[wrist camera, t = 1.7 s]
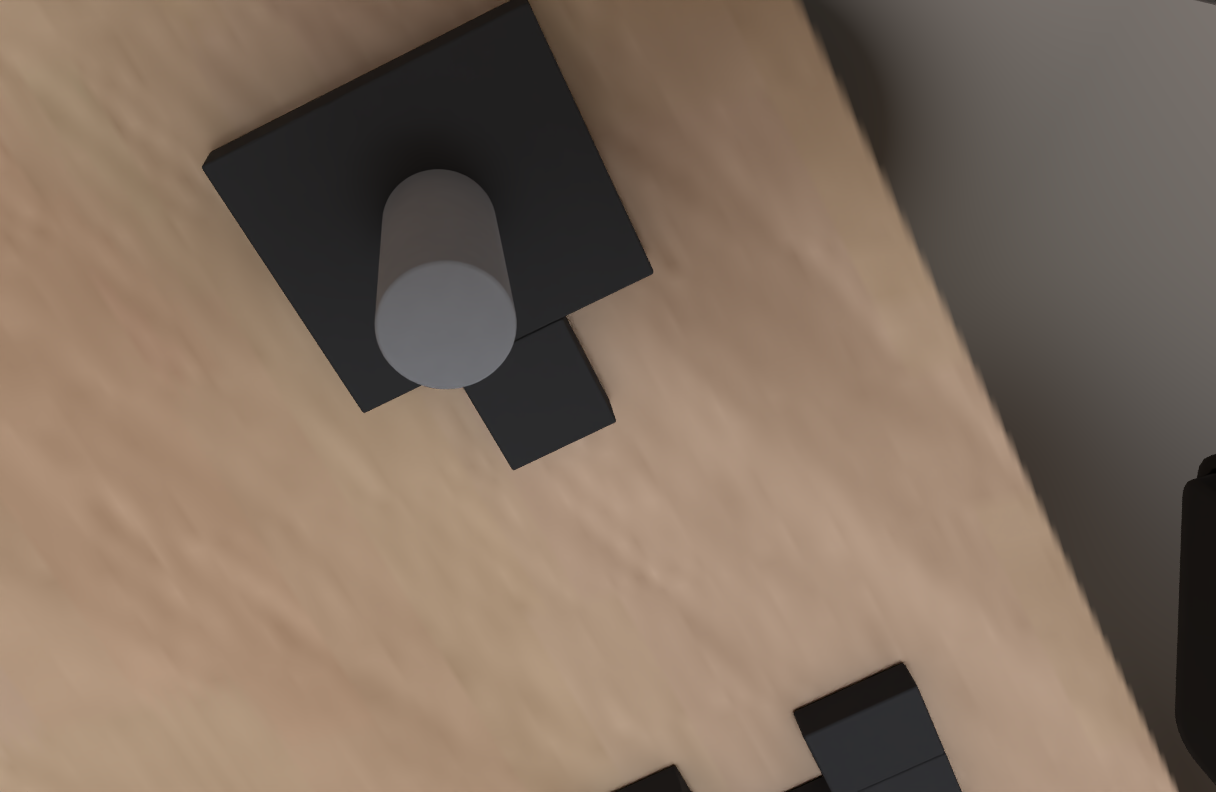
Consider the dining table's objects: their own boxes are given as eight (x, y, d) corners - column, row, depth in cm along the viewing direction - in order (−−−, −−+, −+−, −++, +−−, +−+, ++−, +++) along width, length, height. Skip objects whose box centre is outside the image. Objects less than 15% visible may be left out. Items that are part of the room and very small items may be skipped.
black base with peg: (523, -7, 25) (560, 54, 19) (694, 360, 30) (769, 507, 24) (208, 152, 26) (141, 263, 19) (427, 488, 31) (430, 664, 24)
